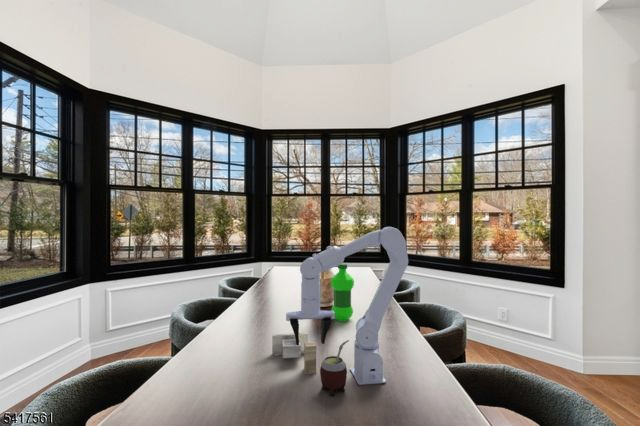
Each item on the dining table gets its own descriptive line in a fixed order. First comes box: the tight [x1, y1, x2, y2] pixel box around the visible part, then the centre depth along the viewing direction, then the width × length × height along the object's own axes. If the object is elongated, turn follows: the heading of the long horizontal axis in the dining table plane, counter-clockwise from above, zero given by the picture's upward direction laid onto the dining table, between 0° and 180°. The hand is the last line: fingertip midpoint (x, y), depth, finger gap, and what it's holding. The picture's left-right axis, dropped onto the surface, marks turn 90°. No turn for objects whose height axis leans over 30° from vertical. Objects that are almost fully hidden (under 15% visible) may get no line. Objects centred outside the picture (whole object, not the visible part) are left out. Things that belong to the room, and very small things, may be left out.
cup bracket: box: [271, 332, 309, 359], centre depth 104 cm, size 8×12×6 cm
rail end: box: [303, 341, 317, 375], centre depth 96 cm, size 3×3×8 cm
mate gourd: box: [319, 339, 350, 398], centre depth 85 cm, size 8×8×15 cm
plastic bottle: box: [330, 263, 355, 322], centre depth 145 cm, size 10×10×25 cm
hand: (310, 343), depth 96 cm, fingers open, 7 cm apart
